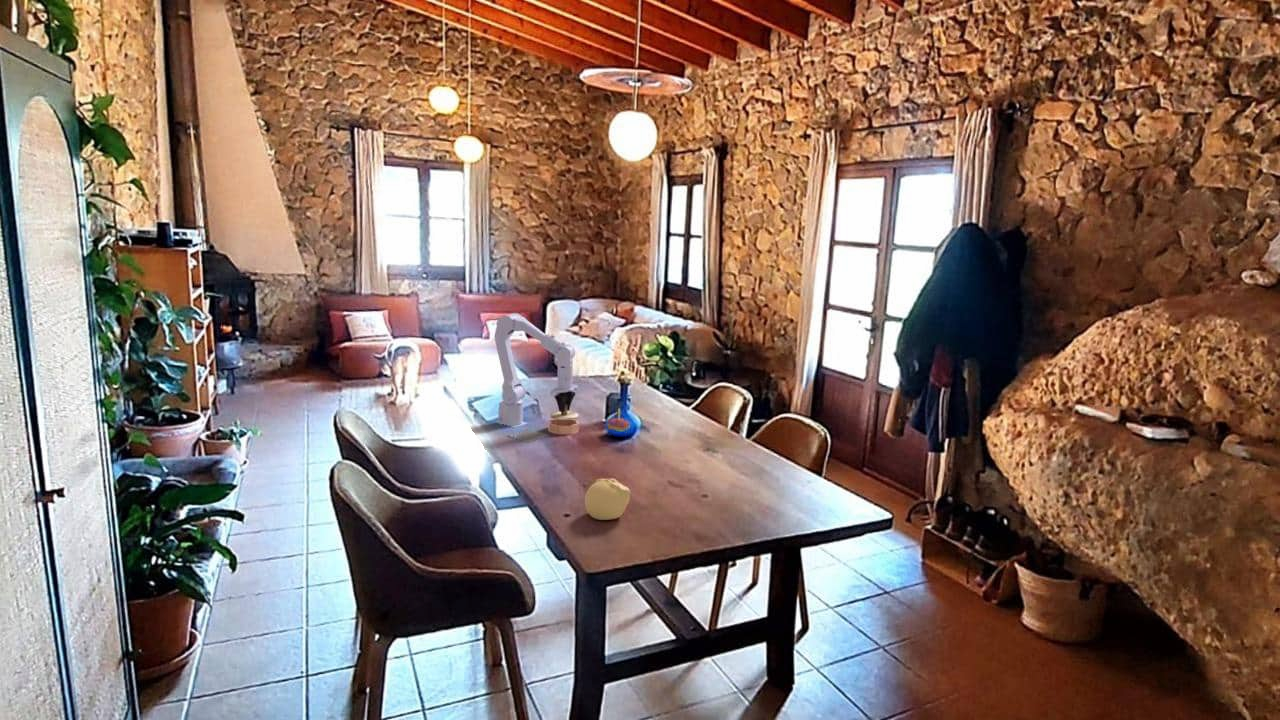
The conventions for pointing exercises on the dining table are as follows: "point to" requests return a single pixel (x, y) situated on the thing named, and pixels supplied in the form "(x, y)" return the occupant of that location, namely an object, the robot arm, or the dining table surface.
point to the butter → (607, 499)
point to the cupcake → (619, 423)
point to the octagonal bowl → (563, 426)
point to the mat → (529, 435)
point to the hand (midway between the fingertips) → (564, 410)
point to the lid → (564, 415)
